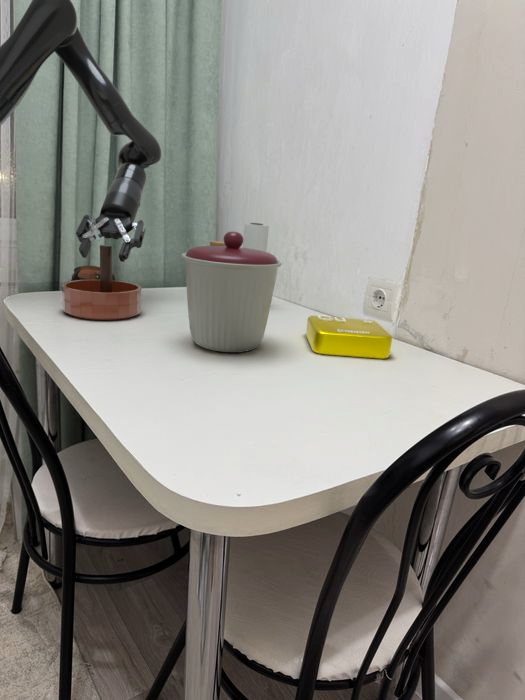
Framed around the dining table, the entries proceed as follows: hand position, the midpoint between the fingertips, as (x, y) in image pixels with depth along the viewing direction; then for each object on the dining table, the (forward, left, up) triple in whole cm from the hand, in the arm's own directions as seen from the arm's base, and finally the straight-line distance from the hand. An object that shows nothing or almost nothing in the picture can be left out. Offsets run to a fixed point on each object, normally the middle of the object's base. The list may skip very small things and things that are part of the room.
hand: (102, 257), depth 109 cm
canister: (+31, -15, -12) cm, 36 cm away
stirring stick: (0, +2, -12) cm, 12 cm away
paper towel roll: (+31, +24, -12) cm, 41 cm away
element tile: (+54, -6, -12) cm, 55 cm away
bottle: (+19, +35, -12) cm, 42 cm away
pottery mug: (-10, +19, -12) cm, 25 cm away
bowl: (0, 0, -12) cm, 12 cm away
